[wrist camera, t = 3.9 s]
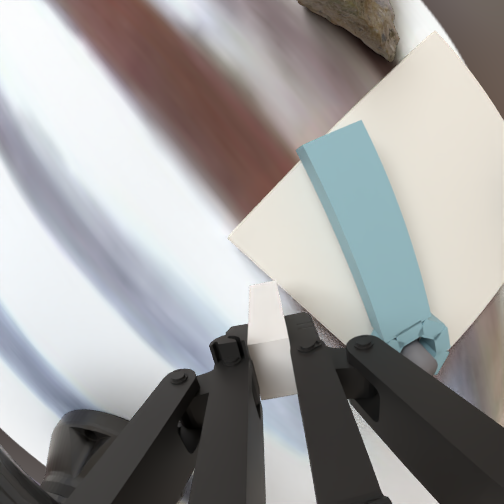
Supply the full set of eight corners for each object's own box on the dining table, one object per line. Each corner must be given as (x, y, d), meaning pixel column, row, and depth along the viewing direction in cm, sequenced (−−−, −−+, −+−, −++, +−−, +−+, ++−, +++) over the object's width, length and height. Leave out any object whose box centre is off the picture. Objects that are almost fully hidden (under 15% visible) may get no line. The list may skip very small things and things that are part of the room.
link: (437, 349, 20) (452, 365, 17) (377, 384, 20) (388, 404, 18) (361, 121, 16) (377, 113, 14) (279, 157, 17) (283, 153, 14)
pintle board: (396, 386, 22) (424, 431, 16) (228, 235, 19) (219, 258, 13) (538, 209, 19) (581, 219, 13) (428, 35, 16) (469, 6, 10)
